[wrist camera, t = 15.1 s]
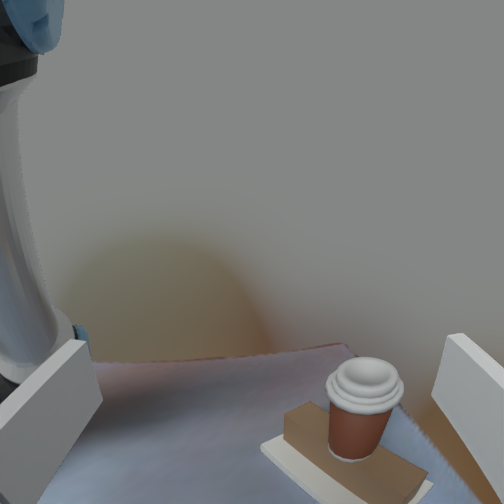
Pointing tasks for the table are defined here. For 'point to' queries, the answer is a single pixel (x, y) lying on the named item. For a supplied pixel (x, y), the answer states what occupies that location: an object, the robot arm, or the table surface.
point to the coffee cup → (360, 406)
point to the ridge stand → (341, 465)
